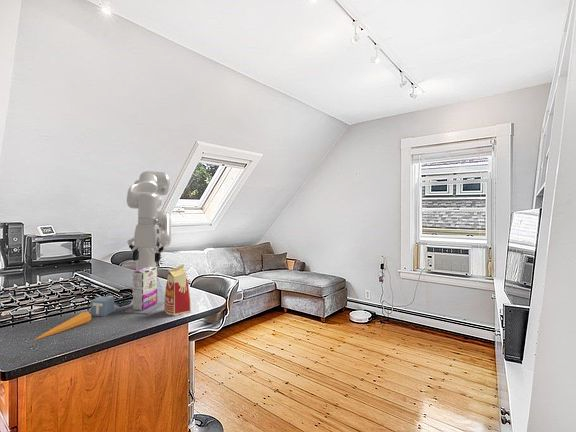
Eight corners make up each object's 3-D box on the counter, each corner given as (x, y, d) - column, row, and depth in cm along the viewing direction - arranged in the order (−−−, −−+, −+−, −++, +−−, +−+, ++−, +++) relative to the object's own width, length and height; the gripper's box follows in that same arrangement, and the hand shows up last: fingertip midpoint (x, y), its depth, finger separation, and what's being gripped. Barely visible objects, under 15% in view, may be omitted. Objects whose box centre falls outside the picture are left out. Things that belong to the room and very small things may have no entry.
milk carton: (181, 306, 143) (183, 262, 142) (191, 312, 136) (193, 265, 136) (161, 310, 136) (162, 264, 136) (171, 316, 130) (172, 267, 129)
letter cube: (100, 310, 134) (100, 296, 134) (114, 311, 134) (114, 297, 134) (90, 315, 128) (90, 300, 128) (104, 316, 128) (104, 301, 127)
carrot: (87, 322, 123) (83, 311, 123) (95, 320, 121) (91, 308, 121) (30, 348, 104) (25, 335, 104) (38, 346, 103) (33, 333, 103)
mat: (143, 301, 148) (143, 300, 148) (164, 303, 147) (164, 302, 147) (124, 312, 133) (124, 311, 133) (147, 314, 132) (147, 313, 132)
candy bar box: (147, 302, 146) (148, 266, 145) (157, 303, 145) (158, 267, 144) (131, 310, 135) (132, 271, 134) (142, 311, 134) (143, 272, 133)
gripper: (170, 222, 141) (169, 260, 142) (133, 219, 143) (132, 258, 144) (162, 223, 134) (161, 264, 135) (123, 221, 135) (122, 261, 137)
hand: (146, 260), depth 139 cm, fingers open, 9 cm apart
